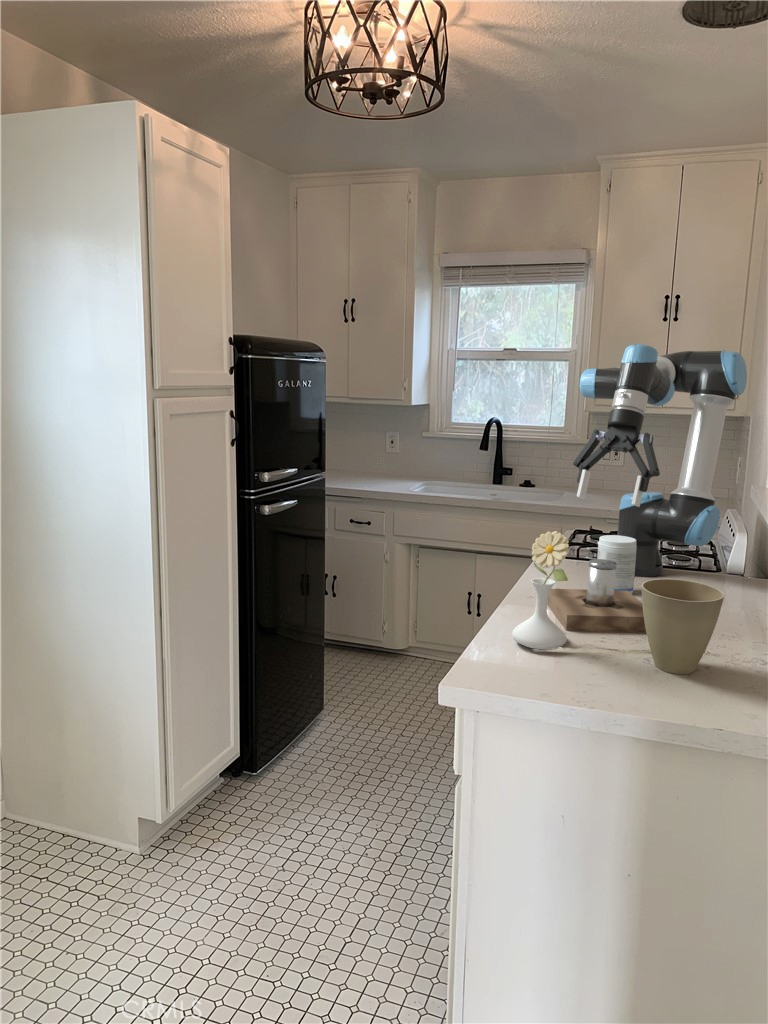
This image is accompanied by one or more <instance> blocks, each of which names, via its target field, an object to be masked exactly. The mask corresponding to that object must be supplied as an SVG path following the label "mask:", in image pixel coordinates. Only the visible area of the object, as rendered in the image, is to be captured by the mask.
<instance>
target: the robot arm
mask: <svg viewBox="0 0 768 1024" xmlns="http://www.w3.org/2000/svg"><path fill="white" fill-rule="evenodd" d="M658 354H659V352H658V350H657V349H656V348H655V347H653V346H650V345H647V344H636V343H635V344H630V345H628V346H627V347H626V348H625V350H624V352H623V355H622V359H621V361H620V363H621V364H620V366H615V367H614V366H613V367H607V368H606V367H605V368H598V367H595V368H587V369H585V370H584V371H582V374H581V376H580V378H579V391H580V394H581V395H582V396H583V397H584V398H587V399H593V400H596V399H597V400H598V399H599V400H600V399H601V400H612V402H611V403H612V404H611V408H612V409H611V410H610V412H609V416H608V420H607V421H608V422H607V428H606V430H605V431H602V430H599V429H597V428H594V429H593V431H592V434H591V436H590V439H589V440H588V441H587V443H586V444H585V446H584V447H583V448H582V449H581V451H580V452H579V453H578V455H577V457H576V458H575V459H574V461H573V462H572V465H573V466H574V467H576V468H578V475H577V479H576V481H577V482H576V483H577V484H578V487H577V492H576V497H577V498H578V499H579V498H580V499H581V500H585V499H586V495H587V490H588V487H589V482H590V477H591V472H590V471H589V470H590V469H591V468H592V467H594V466H595V465H596V464H597V463H598V462H599V461H600V460H601V459H602V458H604V457H605V456H606V455H607V454H608V453H611V452H612V451H613V453H614V452H615V453H616V452H617V453H618V452H619V453H620V452H622V453H625V454H626V453H629V454H630V456H631V458H632V459H633V461H634V463H635V465H636V467H637V469H638V470H639V472H640V475H637V478H636V482H635V485H634V486H635V487H634V491H633V492H632V493H631V492H630V493H625V494H623V495H622V497H621V499H620V503H619V507H618V523H617V534H616V535H619V536H626V537H631V538H634V539H636V545H637V546H636V547H637V549H636V563H635V575H634V577H645V578H646V577H656V576H657V577H658V576H661V575H662V574H663V568H664V566H663V561H662V558H661V557H662V556H661V553H660V552H661V551H660V547H659V545H660V543H659V542H660V540H661V541H665V542H666V541H667V542H671V543H677V544H681V545H687V546H695V547H704V546H706V545H707V544H709V543H710V542H711V540H712V539H713V538H714V536H715V534H716V532H717V530H718V527H719V523H720V521H721V520H720V519H721V517H720V515H721V511H720V508H719V507H718V506H717V505H715V502H716V499H715V498H714V496H713V495H712V493H711V491H712V486H713V483H714V476H715V471H716V466H717V461H718V456H719V450H720V446H721V440H722V435H723V430H724V426H725V421H726V415H727V411H728V408H729V407H730V406H732V405H733V404H735V400H736V396H741V395H742V394H744V393H745V390H746V387H747V381H748V380H747V379H748V377H747V376H748V373H747V366H746V361H745V359H744V357H743V355H742V354H741V353H739V352H737V351H727V350H705V351H704V350H703V351H702V350H701V351H698V350H696V351H695V350H694V351H693V350H684V351H677V352H672V353H667V354H662V355H658ZM675 392H678V393H689V399H690V400H691V402H692V403H693V407H692V413H691V417H690V421H689V428H688V433H687V437H686V444H685V449H684V454H683V457H682V458H683V459H682V464H681V468H680V473H679V479H678V485H677V487H676V489H674V490H672V491H671V492H670V495H669V499H665V496H664V493H663V492H657V491H649V492H648V489H649V488H648V487H649V484H650V479H651V478H653V477H659V476H660V475H661V473H660V469H659V465H658V461H657V458H656V454H655V451H654V449H655V448H654V446H653V445H654V436H653V435H652V434H650V433H649V432H645V433H643V434H642V433H641V431H642V428H643V427H642V426H643V423H644V419H645V416H644V414H645V413H646V409H647V404H648V405H651V406H655V407H661V406H664V405H667V404H668V403H669V402H670V401H671V400H672V399H673V397H674V394H675ZM602 440H605V441H603V442H602V443H600V442H601V441H602ZM639 442H640V443H641V444H642V446H643V449H644V453H645V457H646V461H647V464H646V462H645V461H644V459H643V457H642V456H641V454H640V451H639V450H638V448H637V446H636V445H637V444H638V443H639ZM599 444H600V445H599ZM598 445H599V447H598ZM597 447H598V448H597ZM596 448H597V449H596ZM594 450H595V451H594ZM647 465H648V466H647Z"/></svg>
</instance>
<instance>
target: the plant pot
mask: <svg viewBox="0 0 768 1024" xmlns="http://www.w3.org/2000/svg"><path fill="white" fill-rule="evenodd" d="M724 598H725V593H724V592H723V591H722V590H720V588H717V587H715V586H713V585H710V584H705V583H703V582H698V581H692V580H685V579H679V578H655V579H653V578H652V579H649V580H646V581H643V582H642V583H641V603H642V605H643V614H644V622H645V628H646V633H645V634H646V638H647V642H648V646H649V649H650V654H651V656H652V660H653V663H654V665H655V667H656V668H657V669H659V670H660V671H663V672H666V673H671V674H675V675H687V674H688V675H689V674H692V673H694V672H695V670H696V669H697V667H698V665H699V664H700V662H701V660H702V658H703V655H704V654H705V652H706V650H707V647H708V645H709V644H710V641H711V639H712V637H713V633H714V631H715V629H716V625H717V623H718V620H719V617H720V613H721V610H722V607H723V606H722V605H723V603H724Z"/></svg>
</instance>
